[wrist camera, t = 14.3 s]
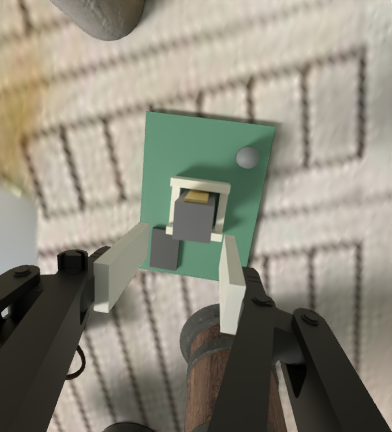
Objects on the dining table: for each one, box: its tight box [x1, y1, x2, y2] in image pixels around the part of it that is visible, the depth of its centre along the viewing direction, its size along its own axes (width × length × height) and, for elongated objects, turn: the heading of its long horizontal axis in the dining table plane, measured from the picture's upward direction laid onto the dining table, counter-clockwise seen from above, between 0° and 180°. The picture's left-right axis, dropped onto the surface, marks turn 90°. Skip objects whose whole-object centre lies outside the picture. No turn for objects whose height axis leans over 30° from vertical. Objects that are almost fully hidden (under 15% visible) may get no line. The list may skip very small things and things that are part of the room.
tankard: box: [180, 304, 287, 432], centre depth 27 cm, size 24×17×20 cm
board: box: [140, 111, 276, 281], centre depth 29 cm, size 22×16×4 cm
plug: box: [172, 190, 215, 244], centre depth 26 cm, size 4×4×8 cm
